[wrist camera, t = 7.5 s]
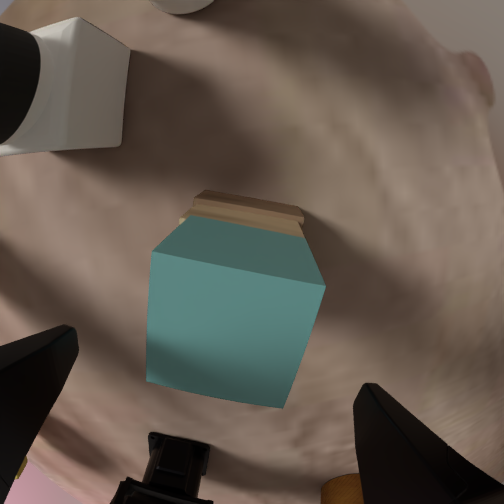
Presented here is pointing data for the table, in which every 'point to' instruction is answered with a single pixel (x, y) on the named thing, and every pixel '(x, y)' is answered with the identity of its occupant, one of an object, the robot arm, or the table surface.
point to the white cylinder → (180, 5)
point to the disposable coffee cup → (343, 490)
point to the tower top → (245, 219)
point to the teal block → (230, 311)
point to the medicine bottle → (61, 88)
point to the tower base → (249, 205)
